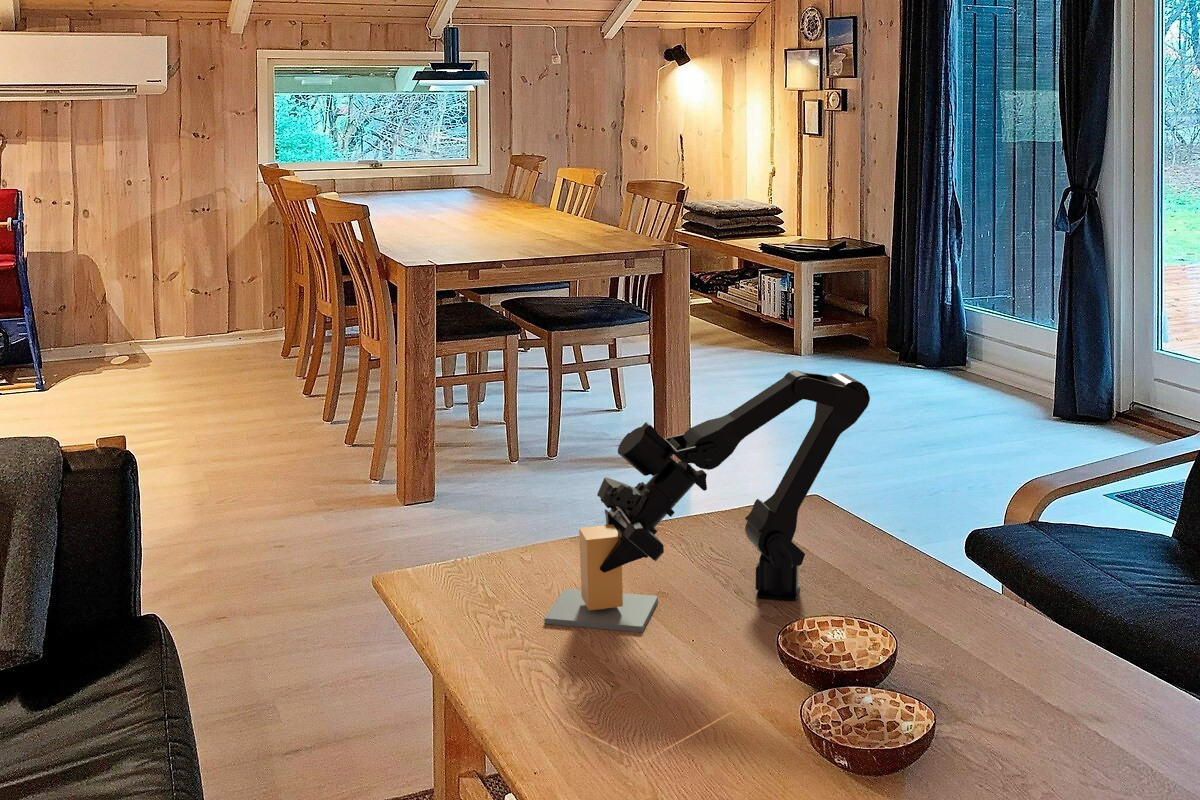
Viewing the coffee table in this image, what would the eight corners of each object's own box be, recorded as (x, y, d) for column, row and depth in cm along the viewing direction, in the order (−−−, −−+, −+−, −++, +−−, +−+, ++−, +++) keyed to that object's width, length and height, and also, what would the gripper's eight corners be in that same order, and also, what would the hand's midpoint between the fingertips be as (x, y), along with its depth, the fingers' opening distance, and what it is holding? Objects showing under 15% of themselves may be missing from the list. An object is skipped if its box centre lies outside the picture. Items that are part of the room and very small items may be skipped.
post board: (657, 601, 214) (657, 576, 213) (642, 632, 203) (641, 605, 201) (564, 594, 218) (564, 569, 217) (544, 623, 207) (543, 597, 205)
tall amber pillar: (614, 592, 213) (612, 524, 210) (622, 606, 208) (621, 536, 204) (581, 596, 212) (579, 527, 209) (588, 610, 206) (586, 540, 203)
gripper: (613, 445, 213) (550, 515, 214) (642, 479, 196) (573, 555, 196) (660, 485, 217) (598, 554, 218) (692, 523, 199) (624, 597, 200)
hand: (597, 563), depth 208 cm, fingers closed on tall amber pillar, 5 cm apart
